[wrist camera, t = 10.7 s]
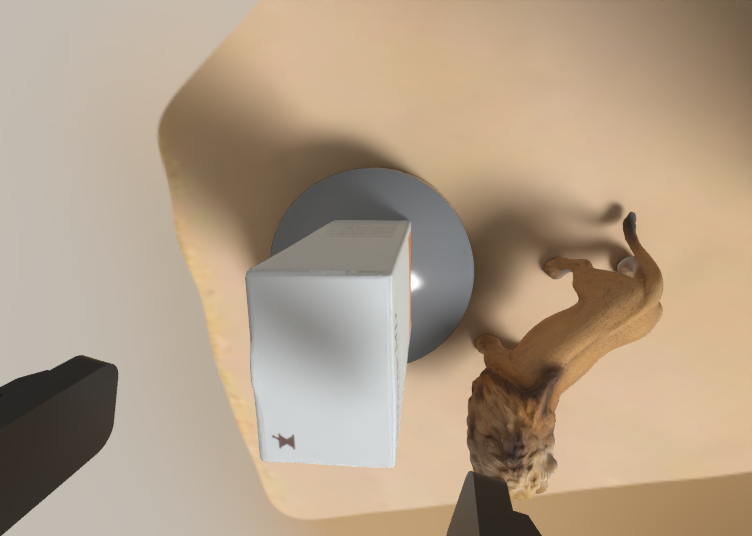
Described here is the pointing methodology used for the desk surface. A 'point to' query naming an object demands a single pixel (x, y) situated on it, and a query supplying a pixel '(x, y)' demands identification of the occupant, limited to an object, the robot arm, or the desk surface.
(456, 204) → the desk surface
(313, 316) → the skincare box
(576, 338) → the lion figurine
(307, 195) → the grey rounded flat disc
